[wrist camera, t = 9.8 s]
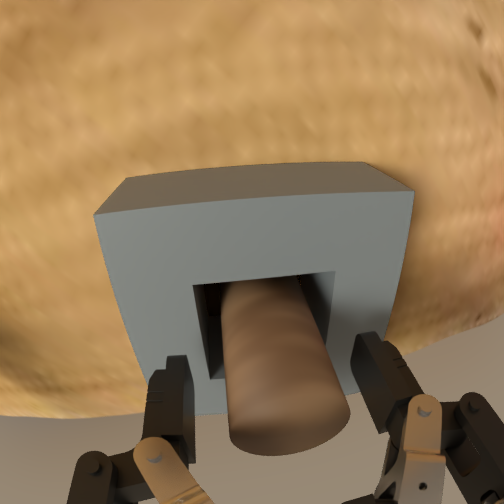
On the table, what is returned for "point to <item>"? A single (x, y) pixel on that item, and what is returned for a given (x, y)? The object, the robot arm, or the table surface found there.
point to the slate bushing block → (252, 256)
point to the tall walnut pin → (277, 369)
